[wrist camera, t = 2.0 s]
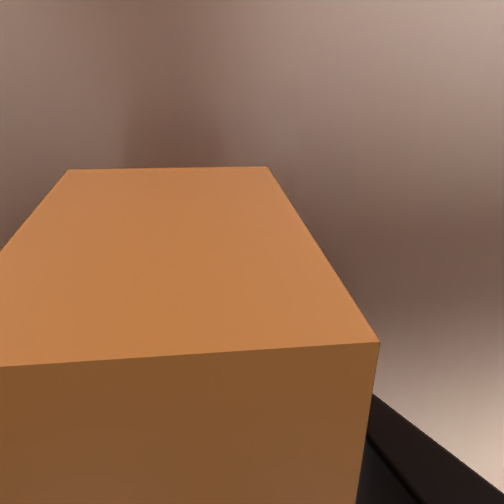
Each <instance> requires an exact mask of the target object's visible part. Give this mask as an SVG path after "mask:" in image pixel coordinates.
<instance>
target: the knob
mask: <svg viewBox="0 0 504 504" xmlns="http://www.w3.org/2000/svg"><path fill="white" fill-rule="evenodd" d="M379 346H380V341H379V339H378V337H377V336H376V334H375V333H374V331H373V330H372V328H371V327H370V325H369V324H368V322H367V320H366V319H365V317H364V316H363V314H362V313H361V311H360V310H359V308H358V306H357V305H356V303H355V302H354V300H353V299H352V297H351V296H350V294H349V292H348V291H347V289H346V288H345V286H344V285H343V283H342V282H341V280H340V279H339V277H338V275H337V274H336V272H335V271H334V269H333V268H332V266H331V265H330V263H329V261H328V260H327V258H326V257H325V255H324V254H323V252H322V251H321V249H320V247H319V246H318V244H317V243H316V241H315V240H314V238H313V237H312V235H311V234H310V232H309V230H308V229H307V227H306V226H305V224H304V223H303V221H302V220H301V218H300V216H299V215H298V213H297V212H296V210H295V209H294V207H293V206H292V204H291V202H290V201H289V199H288V198H287V196H286V195H285V193H284V192H283V190H282V189H281V187H280V185H279V184H278V182H277V181H276V179H275V178H274V176H273V175H272V173H271V171H270V170H269V168H268V167H267V166H250V167H189V168H127V169H68V170H67V171H66V173H65V174H64V175H63V176H62V177H61V179H60V180H59V181H58V182H57V183H56V185H55V186H54V187H53V188H52V189H51V191H50V192H49V193H48V194H47V195H46V197H45V198H44V199H43V200H42V201H41V203H40V204H39V205H38V206H37V208H36V209H35V210H34V211H33V212H32V214H31V215H30V216H29V217H28V218H27V220H26V221H25V222H24V223H23V224H22V226H21V227H20V228H19V229H18V230H17V232H16V233H15V234H14V235H13V237H12V238H11V239H10V240H9V241H8V243H7V244H6V245H5V246H4V247H3V249H2V250H1V251H0V504H355V501H356V495H357V488H358V482H359V475H360V469H361V462H362V456H363V450H364V443H365V437H366V430H367V424H368V417H369V411H370V404H371V398H372V391H373V385H374V378H375V372H376V365H377V359H378V352H379Z"/></svg>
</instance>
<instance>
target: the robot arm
mask: <svg viewBox="0 0 504 504" xmlns="http://www.w3.org/2000/svg"><path fill="white" fill-rule="evenodd" d="M355 504H504V493H502V492H501V491H500V490H498V489H497V488H496V487H494V486H493V485H492V484H491V483H489V482H488V481H487V480H485V479H484V478H483V477H481V476H480V475H479V474H477V473H476V472H475V471H474V470H472V469H471V468H470V467H468V466H467V465H466V464H464V463H463V462H462V461H460V460H459V459H458V458H456V457H455V456H454V455H453V454H451V453H450V452H449V451H447V450H446V449H445V448H443V447H442V446H441V445H439V444H438V443H437V442H436V441H434V440H433V439H432V438H430V437H429V436H428V435H426V434H425V433H424V432H422V431H421V430H420V429H419V428H417V427H416V426H415V425H413V424H412V423H411V422H409V421H408V420H407V419H405V418H404V417H403V416H402V415H400V414H399V413H398V412H396V411H395V410H394V409H392V408H391V407H390V406H388V405H387V404H386V403H384V402H383V401H382V400H381V399H379V398H378V397H377V396H375V395H374V394H373V393H372V398H371V404H370V411H369V417H368V424H367V430H366V437H365V443H364V450H363V456H362V462H361V469H360V475H359V482H358V488H357V495H356V501H355Z"/></svg>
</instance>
